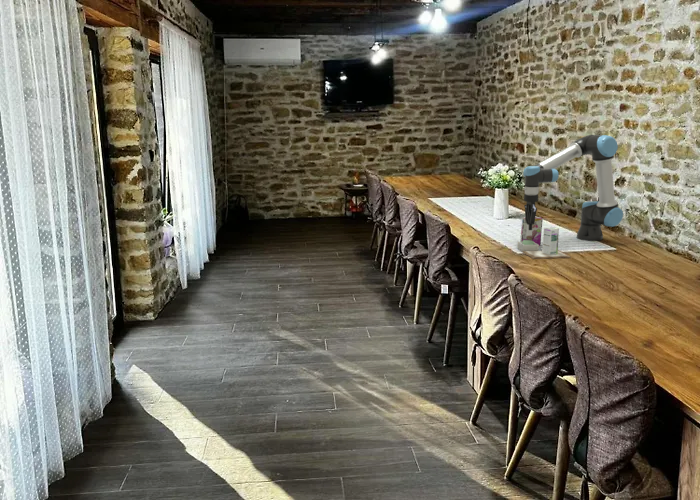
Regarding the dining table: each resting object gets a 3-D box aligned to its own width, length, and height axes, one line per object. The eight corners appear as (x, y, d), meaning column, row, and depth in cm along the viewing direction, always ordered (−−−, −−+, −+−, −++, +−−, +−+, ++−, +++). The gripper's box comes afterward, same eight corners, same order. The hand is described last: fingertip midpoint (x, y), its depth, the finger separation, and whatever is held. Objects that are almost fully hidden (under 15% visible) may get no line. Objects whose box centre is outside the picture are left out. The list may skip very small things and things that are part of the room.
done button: (530, 246, 350) (531, 239, 349) (534, 249, 344) (535, 242, 343) (520, 247, 349) (521, 240, 349) (524, 249, 344) (525, 242, 343)
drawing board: (558, 251, 343) (558, 249, 343) (570, 258, 329) (570, 256, 328) (522, 252, 341) (522, 250, 341) (533, 259, 327) (533, 257, 327)
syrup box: (549, 255, 331) (551, 229, 327) (541, 253, 336) (543, 227, 332) (557, 254, 333) (559, 228, 330) (549, 252, 338) (551, 226, 335)
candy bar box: (521, 245, 359) (523, 218, 355) (520, 243, 364) (521, 216, 360) (540, 245, 358) (542, 218, 354) (539, 243, 363) (541, 216, 359)
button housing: (532, 248, 352) (532, 241, 351) (538, 251, 343) (538, 244, 342) (517, 248, 351) (517, 241, 350) (522, 252, 342) (523, 245, 341)
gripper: (520, 192, 346) (518, 233, 351) (529, 196, 333) (527, 238, 339) (533, 192, 346) (531, 232, 352) (542, 195, 334) (540, 237, 339)
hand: (529, 235), depth 345 cm, fingers closed
